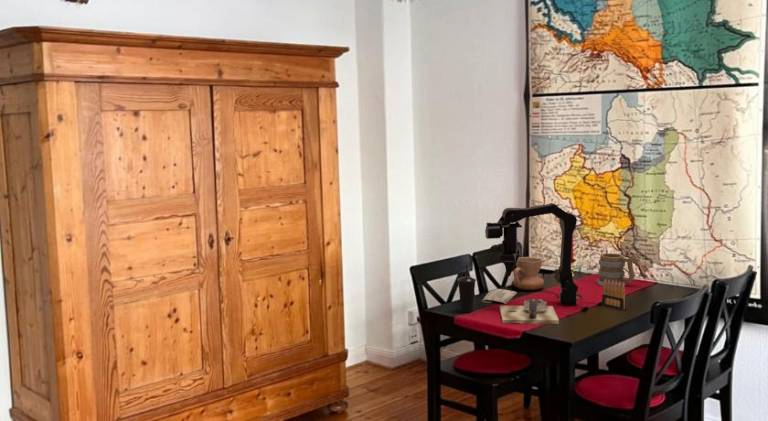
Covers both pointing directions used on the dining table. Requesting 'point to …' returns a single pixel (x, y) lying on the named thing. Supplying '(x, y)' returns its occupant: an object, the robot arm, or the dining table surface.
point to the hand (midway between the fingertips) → (510, 273)
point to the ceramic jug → (528, 273)
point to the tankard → (615, 268)
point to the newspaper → (499, 296)
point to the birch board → (527, 315)
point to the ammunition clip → (614, 295)
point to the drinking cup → (466, 292)
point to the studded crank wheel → (534, 307)
